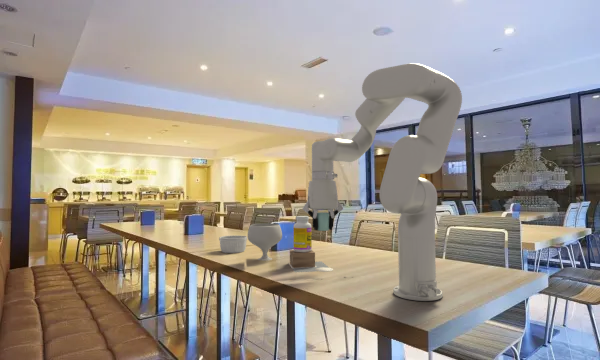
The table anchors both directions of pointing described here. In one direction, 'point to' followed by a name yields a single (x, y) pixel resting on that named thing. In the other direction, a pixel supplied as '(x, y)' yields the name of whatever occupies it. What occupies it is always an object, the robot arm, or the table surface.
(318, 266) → the build board
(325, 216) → the teal post
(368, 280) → the table surface
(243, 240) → the ramekin
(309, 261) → the walnut plinth
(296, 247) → the supplement bottle
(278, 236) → the chalice
